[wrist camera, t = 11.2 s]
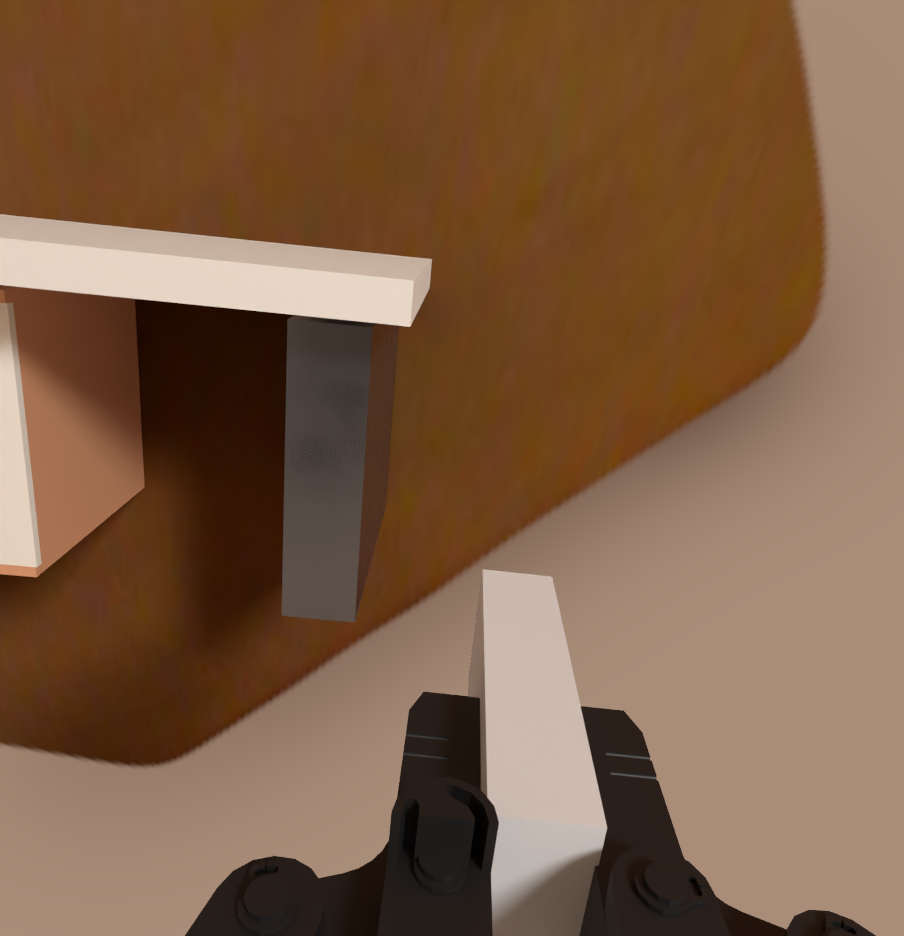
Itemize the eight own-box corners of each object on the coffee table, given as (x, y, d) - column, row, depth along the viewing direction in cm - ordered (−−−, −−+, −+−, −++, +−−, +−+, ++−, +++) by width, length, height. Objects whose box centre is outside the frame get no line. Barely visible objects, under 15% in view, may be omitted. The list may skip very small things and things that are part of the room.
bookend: (332, 503, 33) (281, 615, 24) (342, 289, 30) (287, 319, 20) (385, 509, 33) (354, 622, 24) (400, 295, 30) (372, 327, 20)
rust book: (59, 478, 33) (-79, 566, 25) (38, 261, 30) (-130, 276, 21) (146, 486, 33) (37, 577, 25) (134, 271, 30) (5, 290, 21)
